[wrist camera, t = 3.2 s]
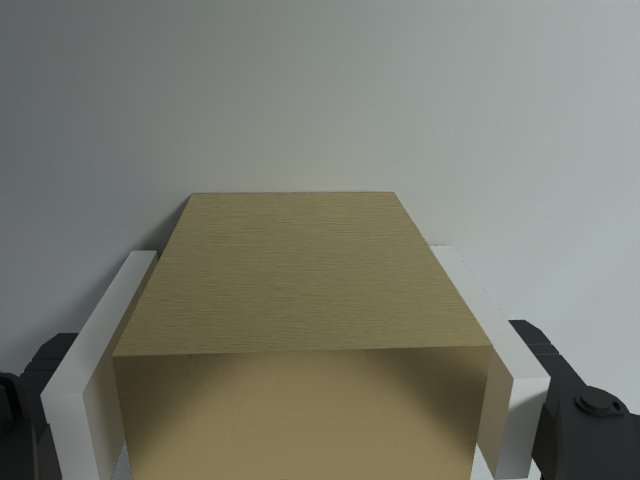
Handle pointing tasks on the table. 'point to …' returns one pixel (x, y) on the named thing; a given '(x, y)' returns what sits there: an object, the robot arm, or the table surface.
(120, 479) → the table surface
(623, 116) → the table surface
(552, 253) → the table surface
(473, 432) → the tan rectangular block
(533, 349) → the robot arm
